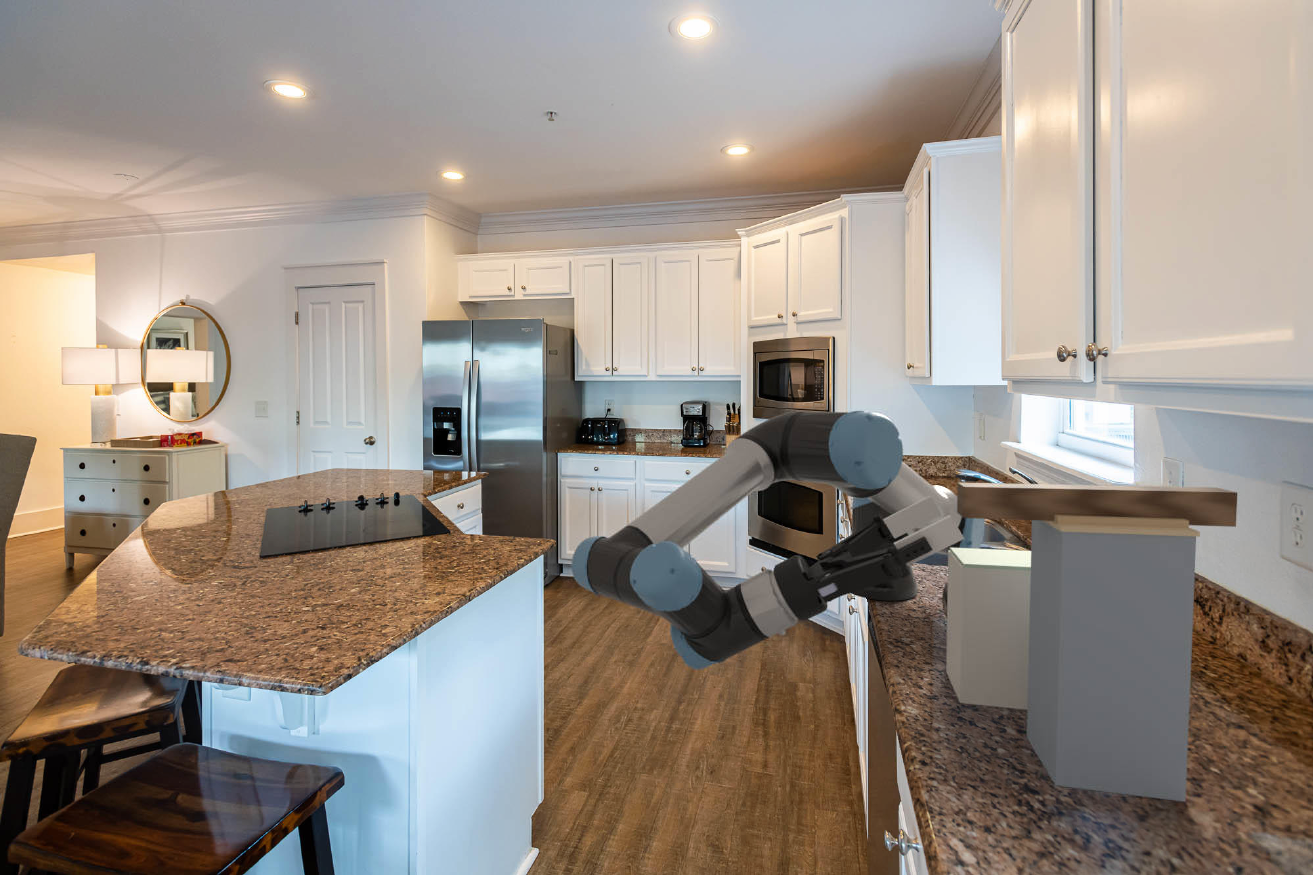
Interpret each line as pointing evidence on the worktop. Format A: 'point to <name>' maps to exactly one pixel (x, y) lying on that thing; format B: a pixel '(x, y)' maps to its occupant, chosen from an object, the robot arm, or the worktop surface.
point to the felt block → (989, 626)
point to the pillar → (1112, 652)
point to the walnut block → (1097, 502)
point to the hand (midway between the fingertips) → (945, 514)
